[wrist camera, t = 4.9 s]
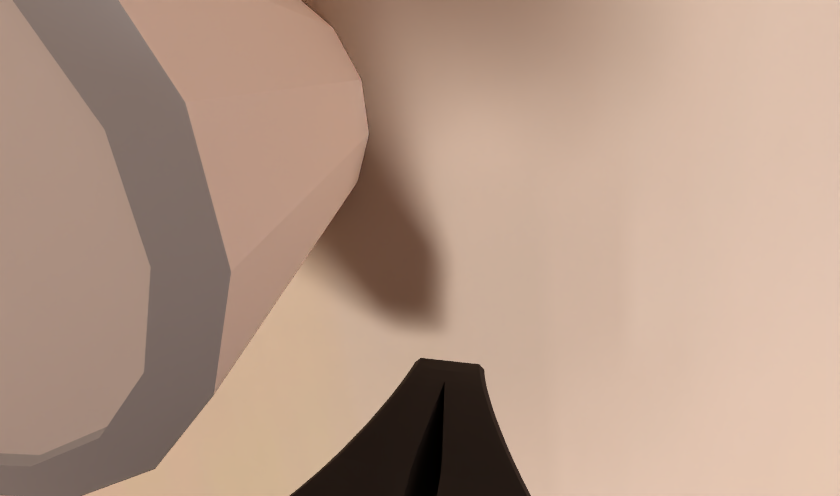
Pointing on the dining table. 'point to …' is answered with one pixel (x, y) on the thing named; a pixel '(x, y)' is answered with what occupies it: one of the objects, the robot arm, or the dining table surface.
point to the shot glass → (152, 214)
